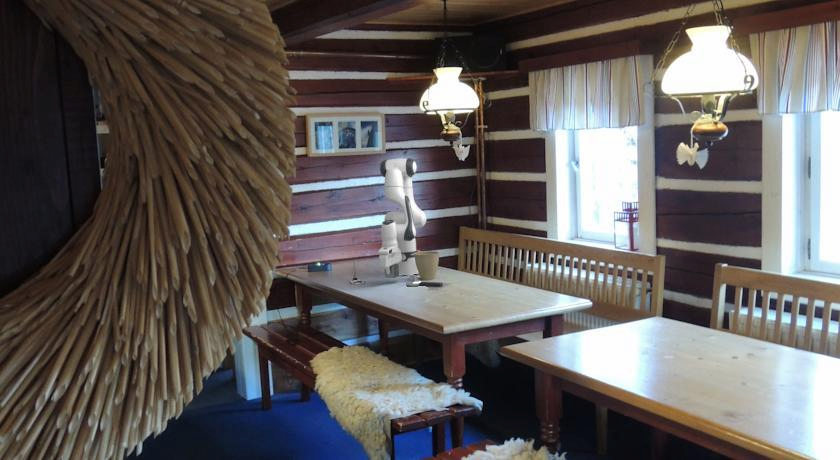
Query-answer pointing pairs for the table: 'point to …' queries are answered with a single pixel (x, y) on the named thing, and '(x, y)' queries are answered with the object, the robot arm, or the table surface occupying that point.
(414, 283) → the ratchet
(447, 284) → the mat
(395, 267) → the hollow square tube
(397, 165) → the robot arm
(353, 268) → the tow hook
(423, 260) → the plant pot
